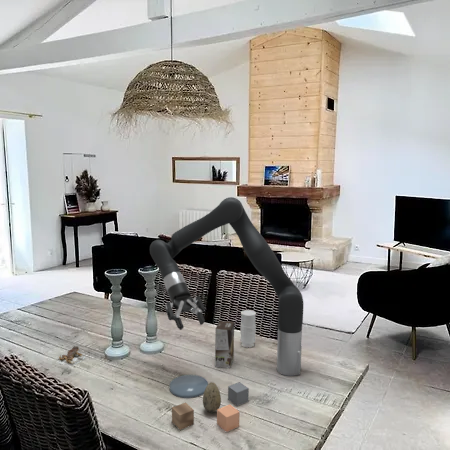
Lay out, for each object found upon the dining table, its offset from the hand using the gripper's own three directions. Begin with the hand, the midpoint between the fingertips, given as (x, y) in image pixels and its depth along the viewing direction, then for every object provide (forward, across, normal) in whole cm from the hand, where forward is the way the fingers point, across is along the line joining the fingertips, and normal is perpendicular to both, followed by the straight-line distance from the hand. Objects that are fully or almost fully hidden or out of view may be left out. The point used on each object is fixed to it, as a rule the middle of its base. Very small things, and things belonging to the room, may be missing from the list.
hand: (192, 326), depth 148 cm
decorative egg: (+28, -2, +6) cm, 29 cm away
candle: (+5, +40, +29) cm, 49 cm away
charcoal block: (+28, +9, +6) cm, 30 cm away
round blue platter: (+16, -1, +18) cm, 24 cm away
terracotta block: (+34, -2, -1) cm, 34 cm away
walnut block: (+28, -13, +6) cm, 31 cm away
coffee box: (+10, +21, +23) cm, 33 cm away
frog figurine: (-17, -29, +52) cm, 62 cm away
